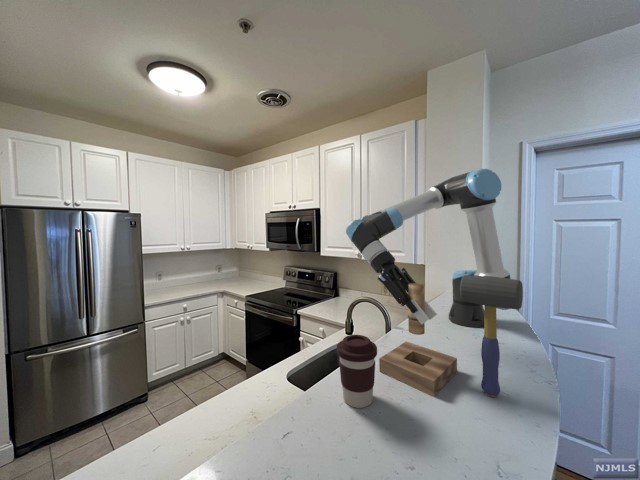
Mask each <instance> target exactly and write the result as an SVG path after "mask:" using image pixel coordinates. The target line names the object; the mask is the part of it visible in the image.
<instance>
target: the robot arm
mask: <svg viewBox="0 0 640 480" xmlns="http://www.w3.org/2000/svg"><path fill="white" fill-rule="evenodd" d="M502 188H503V187H502V182H501V179H500V177H499V175H498V174H497V173H496V172H494V171H493V170H491V169H488V168H480V169H474V170H470V171H468V172H465V173H462V174H459V175H455V176H452V177H450V178H448V179H446V180H444V181H442V182H440V183H438V184H436V185H433V186H432V187H429V188H428V189H427V191H425V192H423V193H421V194H418V195H416V196H413V197H410V198H408V199H406V200H403V201H401V202H398V203H396V204H392V205H391V206H388V207H386V208H383V209H380V210H378V211H377V212H374V213H371V214H368V215H364V216H362V217H361V218H358V219H353V220H352V221H351V222H349V223H348V225H347V226H346V228H345V234H346V235H347V237H348V238H349V240H350V241H351V242H352V244H353V245H354V246H355V248H356V249H358V251H359V252H360V253H361V255H362V256H363V257H364V259H365V260H366V261H367V263H368V264H370V267H371V268H372V269H373V270H374V272H375V273H376V274H380V275H379V276H378V277H377V280H378V281H380V282H381V283H382V284H383V286H384V287H385V288H386V289H387V291H388V293H390V295H391V296H392V298H394V299H395V301H396V303H398V305H401V307H405V306H406V307H407V308H409V310H410V311H411V312H412V313H413V314H414V316H415V317H416V318H417V319H418V321H419V322H420V323H421V325H422V324H423V323H426V322H427V321H428V320H432V319H433V318H434V317H436V316H437V315H438V313H437V312H436V311H435V310H434V309H433V308H432V307H431V305H430V304H429V303H428V301H427V300H426V299H425V298H424V311H423V310H422V309H421V308H420V306H419V305H418V304H417V303H416V302H415V300H414V299H412V300H411V298H410V297H409V295H408V284H409V283H417V282H416V281H415V280H414V279H413V278H412V277H411V275H410V274H409V273H408V270H407V269H406V268H405V267H403V268H402V269H401V268H399V267H398V266H397V265H396V264H395V262H396V257H394V256H393V255H392V253H391V252H390V251H388V248H387V247H386V246H385V245H384V244H383V242H381V240H380V239H382V238H384V237H385V236H387V235H388V234H391V233H392V232H394V231H397V230H398V229H399V228H400V227H402V226H403V224H404V221H406V220H409V219H412V218H414V217H416V216H418V215H420V214H423V213H425V212H428V211H430V210H433V209H436V210H438V209H439V210H440V209H441V208H444V207H448V206H454V205H459V206H460V210H461V211H462V212H465V214H466V219H467V223H468V228H469V234H470V238H471V243H472V244H471V245H472V249H473V250H472V251H473V254H474V258H475V259H474V260H475V265H476V269H477V270H476V269H469V270H467V269H466V270H455V271H454V272H453V273H452V279H451V281H452V304H451V306H450V310H449V312H448V320H449V321H450V322H452V323H454V324H456V325H459V326H462V327H469V328H483V327H484V313H485V307H484V305H480V304H475V303H471V302H467V301H464V300H462V298H461V296H460V283H461V279H462V277H463V276H464V275H476V276H493V277H501V278H508V279H512V278H511V273H510V271H509V270H507V269H505V268H504V263H503V262H504V261H503V259H502V258H503V257H502V253H501V248H500V247H501V246H500V242H499V236H498V233H497V232H498V230H497V225H496V221H495V216H494V211H493V208H494V206H495V205H496V204H497V199H496V198H497V197H498V196H499V195H500V194H501V191H502ZM497 309H498V310H502V311H506V310H507V311H508V310H509V309H508V308H498V307H496V310H497Z"/></svg>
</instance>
